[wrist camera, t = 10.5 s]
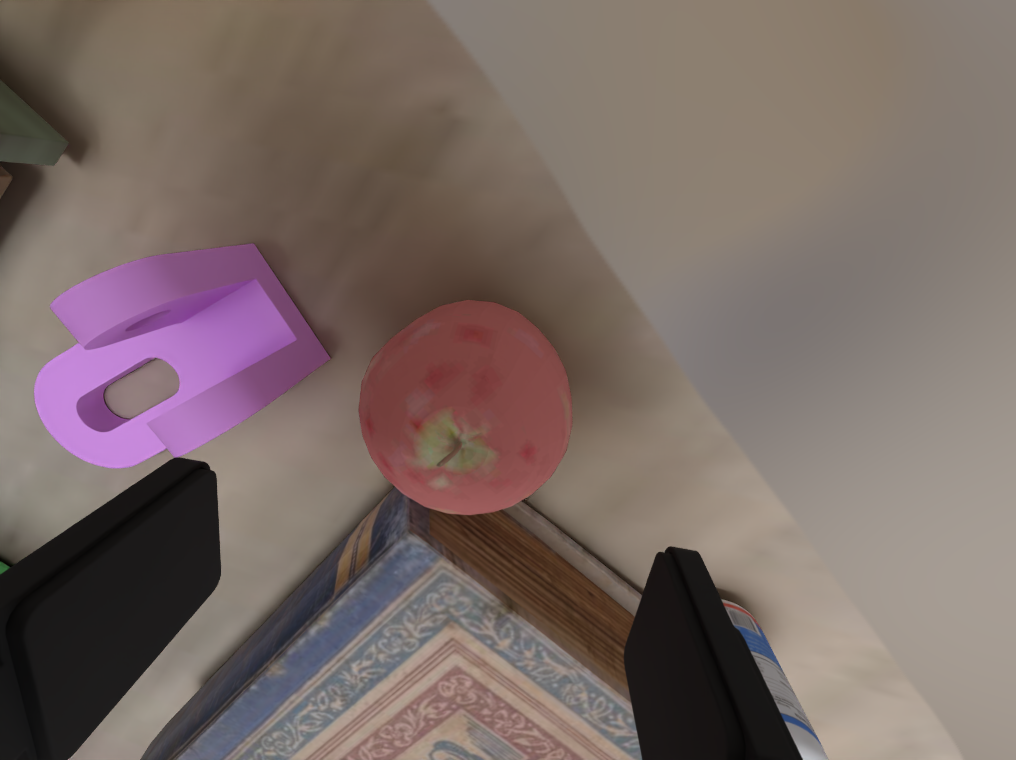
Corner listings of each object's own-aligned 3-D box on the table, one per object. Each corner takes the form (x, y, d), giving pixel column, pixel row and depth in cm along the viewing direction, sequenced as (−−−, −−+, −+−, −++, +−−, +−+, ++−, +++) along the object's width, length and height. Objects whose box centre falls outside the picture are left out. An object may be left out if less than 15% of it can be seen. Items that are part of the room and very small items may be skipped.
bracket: (253, 243, 19) (111, 260, 13) (330, 358, 21) (238, 426, 14) (39, 376, 22) (-169, 447, 16) (121, 470, 24) (-37, 570, 17)
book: (739, 770, 18) (368, 976, 26) (688, 628, 25) (401, 825, 32) (399, 511, 15) (86, 827, 23) (439, 424, 22) (184, 693, 29)
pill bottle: (679, 684, 26) (746, 942, 17) (634, 616, 25) (681, 856, 16) (777, 652, 25) (910, 914, 15) (735, 578, 23) (853, 817, 14)
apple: (452, 469, 23) (410, 599, 15) (366, 337, 21) (269, 412, 13) (593, 405, 21) (626, 513, 14) (516, 255, 19) (504, 286, 12)
